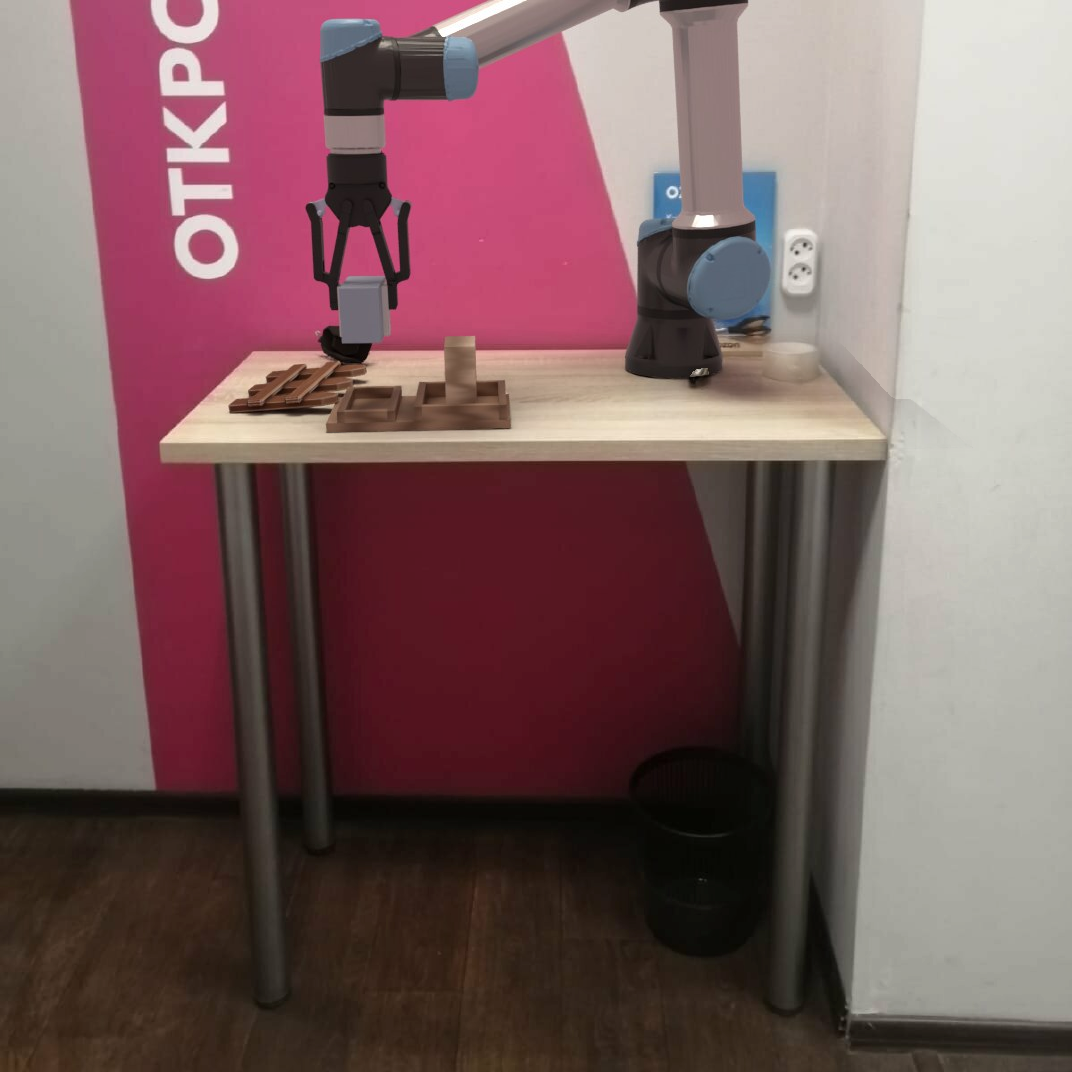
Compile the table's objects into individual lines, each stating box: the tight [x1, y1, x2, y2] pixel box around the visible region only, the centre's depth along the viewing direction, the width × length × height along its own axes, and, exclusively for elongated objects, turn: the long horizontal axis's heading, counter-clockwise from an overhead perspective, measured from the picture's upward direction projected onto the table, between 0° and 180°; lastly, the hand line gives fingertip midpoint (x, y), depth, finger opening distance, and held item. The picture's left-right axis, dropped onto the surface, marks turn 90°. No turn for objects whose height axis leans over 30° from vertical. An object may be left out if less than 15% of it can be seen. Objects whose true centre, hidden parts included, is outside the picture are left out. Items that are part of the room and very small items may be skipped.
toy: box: [315, 325, 373, 366], centre depth 205 cm, size 9×6×15 cm
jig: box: [325, 379, 512, 433], centre depth 171 cm, size 24×14×3 cm, turn 92°
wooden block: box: [443, 335, 478, 404], centre depth 170 cm, size 4×7×9 cm, turn 2°
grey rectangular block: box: [339, 275, 387, 344], centre depth 166 cm, size 5×10×7 cm, turn 1°
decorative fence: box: [228, 360, 367, 414], centre depth 184 cm, size 23×2×15 cm
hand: (365, 334), depth 168 cm, fingers closed on grey rectangular block, 5 cm apart
